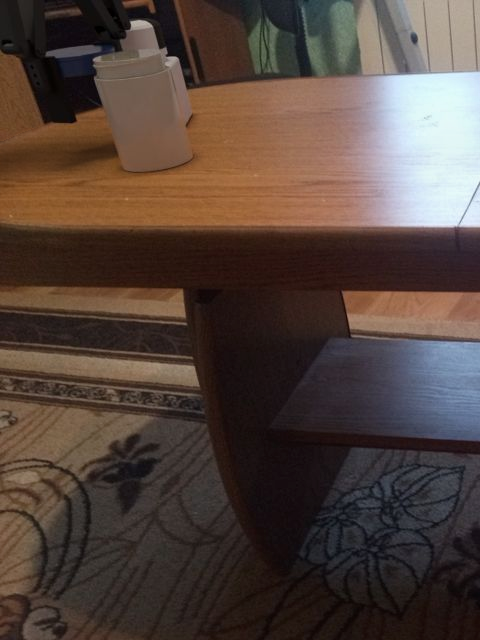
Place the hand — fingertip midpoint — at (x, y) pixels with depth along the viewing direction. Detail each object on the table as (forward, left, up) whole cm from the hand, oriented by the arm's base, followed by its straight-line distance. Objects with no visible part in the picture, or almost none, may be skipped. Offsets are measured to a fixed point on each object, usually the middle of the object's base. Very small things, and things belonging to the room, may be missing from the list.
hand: (95, 111), depth 80 cm
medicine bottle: (0, +11, -4) cm, 12 cm away
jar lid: (0, 0, +6) cm, 6 cm away
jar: (+9, -4, -4) cm, 11 cm away
